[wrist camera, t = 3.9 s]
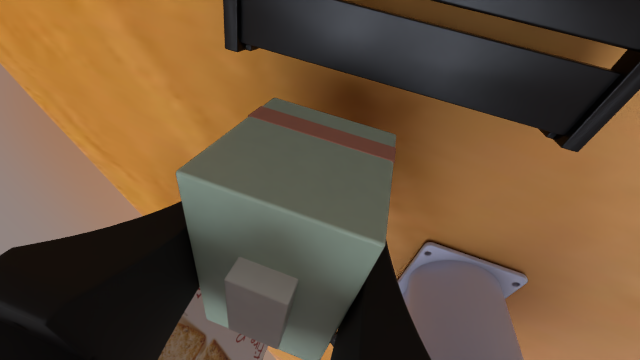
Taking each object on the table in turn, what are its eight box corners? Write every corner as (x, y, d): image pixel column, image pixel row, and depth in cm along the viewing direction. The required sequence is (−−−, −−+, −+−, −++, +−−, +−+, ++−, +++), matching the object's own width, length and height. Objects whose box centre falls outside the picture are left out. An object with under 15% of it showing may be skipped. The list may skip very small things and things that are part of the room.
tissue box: (344, 256, 15) (312, 389, 10) (263, 227, 15) (193, 338, 10) (397, 133, 10) (384, 277, 5) (273, 95, 10) (145, 189, 5)
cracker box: (296, 283, 30) (162, 624, 14) (258, 284, 33) (109, 569, 16) (227, 190, 24) (-157, 601, 8) (187, 201, 27) (-157, 521, 11)
